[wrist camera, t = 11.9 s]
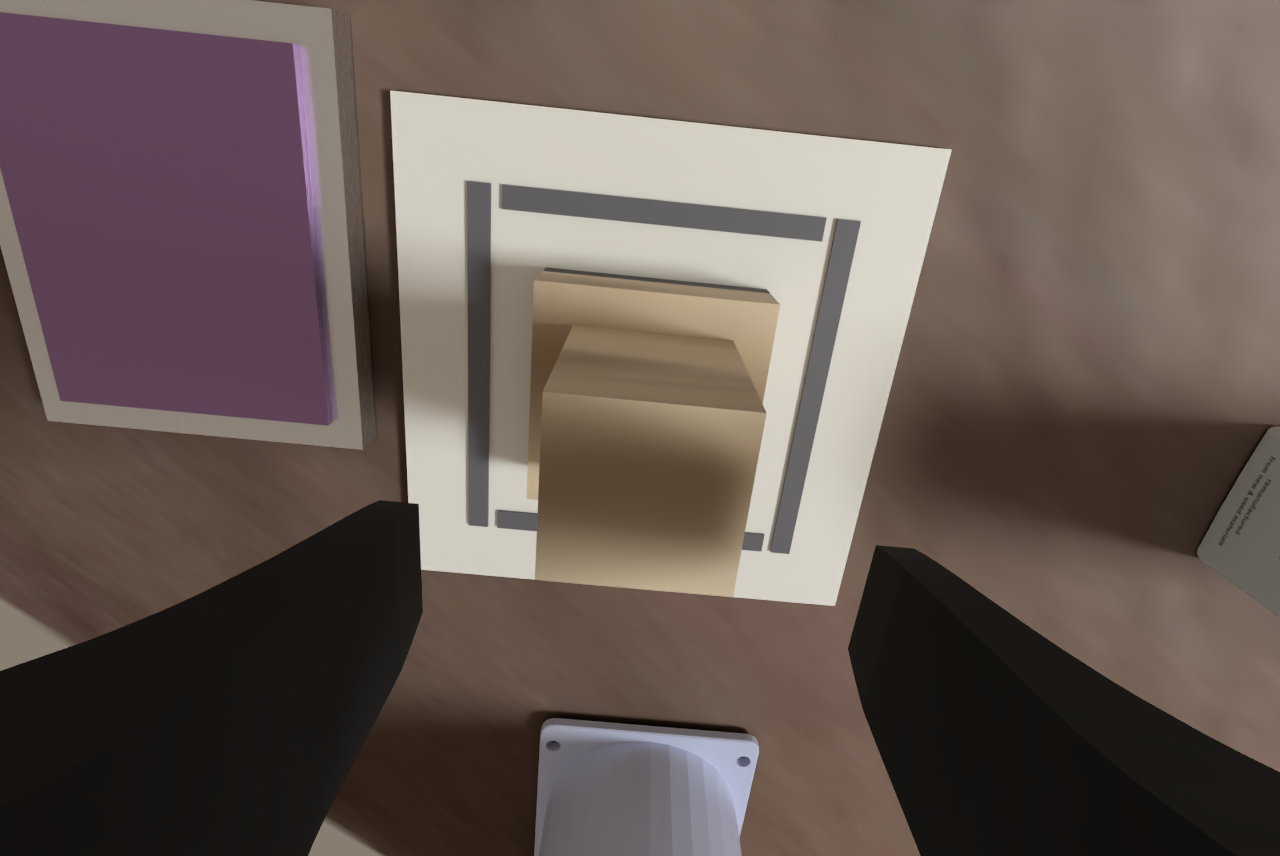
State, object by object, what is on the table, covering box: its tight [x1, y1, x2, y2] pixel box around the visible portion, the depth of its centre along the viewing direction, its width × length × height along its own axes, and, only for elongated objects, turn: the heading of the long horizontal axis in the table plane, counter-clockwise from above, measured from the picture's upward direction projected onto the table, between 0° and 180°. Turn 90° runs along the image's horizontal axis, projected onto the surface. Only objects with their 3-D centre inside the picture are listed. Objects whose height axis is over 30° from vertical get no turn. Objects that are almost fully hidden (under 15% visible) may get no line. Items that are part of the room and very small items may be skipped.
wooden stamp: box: [527, 267, 780, 597], centre depth 16 cm, size 6×6×7 cm
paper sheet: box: [390, 91, 952, 606], centre depth 19 cm, size 14×14×1 cm
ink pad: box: [0, 0, 376, 450], centre depth 17 cm, size 11×9×1 cm
